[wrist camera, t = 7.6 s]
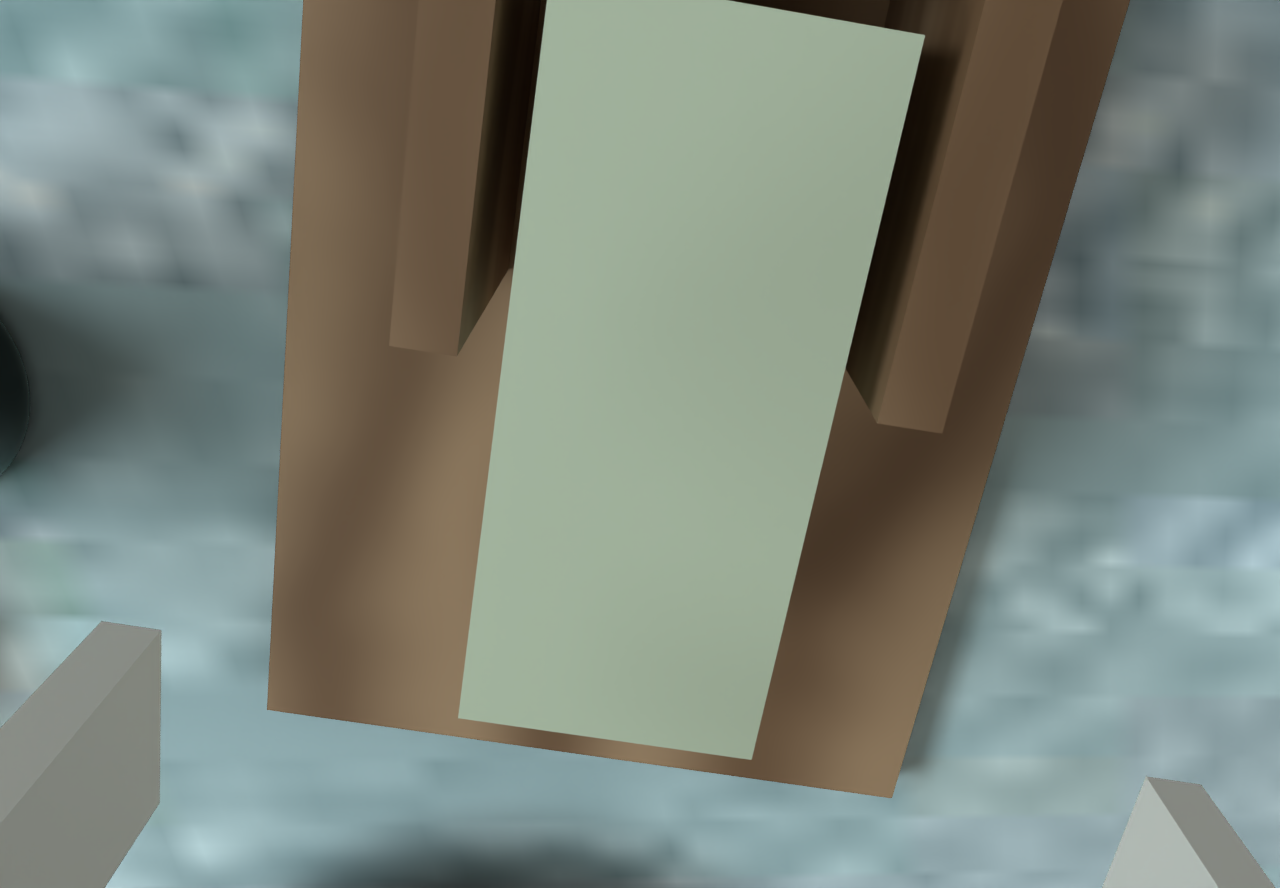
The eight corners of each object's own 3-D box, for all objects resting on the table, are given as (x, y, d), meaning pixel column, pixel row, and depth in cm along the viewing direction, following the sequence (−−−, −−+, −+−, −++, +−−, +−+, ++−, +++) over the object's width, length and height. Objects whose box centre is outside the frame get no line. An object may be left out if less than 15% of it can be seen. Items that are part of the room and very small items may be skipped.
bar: (479, 640, 25) (458, 718, 22) (564, -23, 20) (550, -32, 17) (740, 678, 25) (751, 759, 22) (887, 34, 20) (925, 35, 17)
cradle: (278, 689, 32) (154, 910, 24) (336, -373, 23) (168, -590, 15) (884, 776, 33) (960, 1016, 25) (1174, -213, 24) (1441, -336, 16)
